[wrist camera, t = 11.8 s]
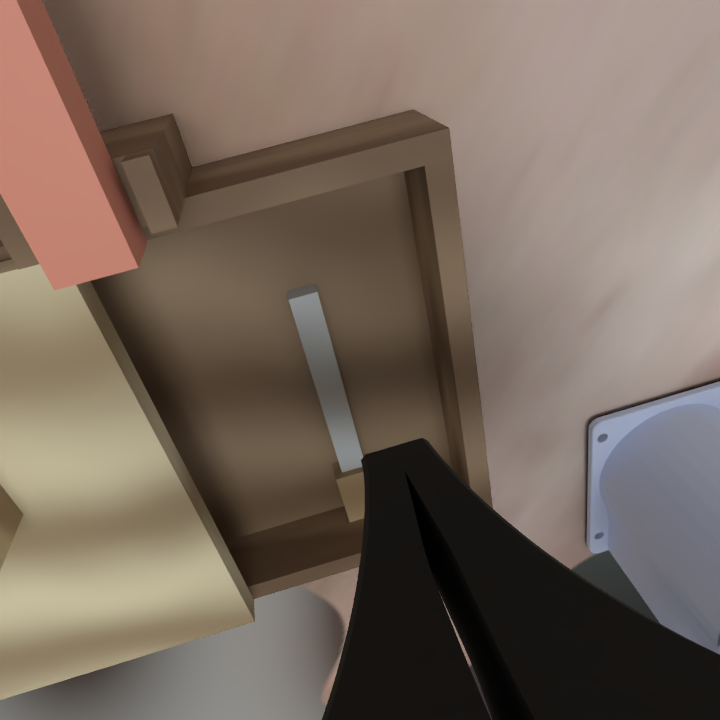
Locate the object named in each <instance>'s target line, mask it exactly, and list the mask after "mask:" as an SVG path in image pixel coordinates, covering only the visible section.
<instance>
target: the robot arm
mask: <svg viewBox="0 0 720 720" xmlns="http://www.w3.org/2000/svg"><path fill="white" fill-rule="evenodd" d="M601 434H602V435H601ZM600 435H601V436H600ZM361 463H362V467H363V474H364V486H365V512H364V528H363V542H362V551H361V558H360V566H359V573H358V581H357V587H356V592H355V598H354V603H353V608H352V613H351V618H350V622H349V627H348V631H347V636H346V640H345V643H344V647H343V651H342V655H341V659H340V663H339V667H338V670H337V674H336V677H335V681H334V684H333V688H332V691H331V694H330V697H329V700H328V703H327V706H326V709H325V712H324V716H323V718H322V720H491V719H490V716H489V714H488V712H487V709H486V707H485V704H484V702H483V700H482V697H481V695H480V692H479V690H478V687H477V685H476V683H475V680H474V678H473V675H472V673H471V670H470V668H469V665H468V663H467V661H466V658H465V656H464V653H463V651H462V648H461V646H460V643H459V641H458V638H457V636H456V633H455V631H454V628H453V626H452V623H451V621H450V618H449V616H448V613H447V611H446V608H447V610H448V612H449V614H450V617H451V619H452V621H453V623H454V625H455V628H456V630H457V632H458V634H459V636H460V639H461V641H462V643H463V645H464V647H465V650H466V652H467V654H468V656H469V659H470V661H471V663H472V666H473V668H474V671H475V673H476V676H477V678H478V681H479V683H480V686H481V689H482V692H483V695H484V697H485V700H486V703H487V706H488V709H489V712H490V714H491V717H492V720H720V381H719V382H716V383H713V384H709V385H706V386H702V387H699V388H696V389H692V390H689V391H686V392H682V393H679V394H676V395H672V396H669V397H666V398H662V399H659V400H655V401H652V402H649V403H645V404H642V405H639V406H635V407H632V408H629V409H625V410H622V411H619V412H615V413H612V414H609V415H605V416H602V417H598V418H596V419H594V420H593V421H592V422H591V424H590V425H589V440H588V497H587V548H588V549H589V551H590V552H591V553H594V554H597V553H601V552H604V551H607V550H609V551H610V553H611V554H612V556H613V557H614V558H615V560H616V561H617V563H618V564H619V565H620V567H621V568H622V570H623V571H624V572H625V574H626V575H627V576H628V578H629V580H630V581H631V582H632V584H633V585H634V587H635V588H636V589H637V591H638V592H639V594H640V595H641V597H642V598H643V599H644V601H645V602H646V604H647V605H648V606H649V608H650V609H651V611H652V612H653V614H654V615H655V616H656V618H657V619H658V621H659V622H660V623H661V624H659V623H657V622H656V621H654V620H652V619H650V618H648V617H646V616H645V615H643V614H641V613H640V612H638V611H636V610H635V609H633V608H631V607H630V606H628V605H626V604H625V603H623V602H621V601H619V600H618V599H616V598H614V597H613V596H611V595H609V594H608V593H606V592H604V591H603V590H601V589H599V588H597V587H596V586H594V585H593V584H591V583H589V582H588V581H587V580H585V579H584V578H582V577H581V576H579V575H578V574H576V573H575V572H573V571H572V570H570V569H569V568H567V567H566V566H564V565H563V564H562V563H560V562H559V561H558V560H556V559H555V558H553V557H552V556H551V555H549V554H548V553H546V552H545V551H544V550H542V549H541V548H540V547H538V546H537V545H536V544H534V543H533V542H532V541H531V540H529V539H528V538H527V537H525V536H524V535H523V534H522V533H521V532H519V531H518V530H517V529H516V528H514V527H513V526H512V525H511V524H510V523H508V522H507V521H506V520H505V519H504V518H502V517H501V516H500V515H499V514H498V513H497V512H496V511H495V510H493V509H492V508H491V507H490V506H489V505H488V504H487V503H486V502H485V501H484V500H483V499H481V498H480V497H479V496H478V495H477V494H476V493H475V492H474V491H473V490H472V489H471V488H470V487H469V486H468V485H467V484H466V483H465V482H464V481H463V480H462V479H461V478H460V477H459V476H458V475H457V474H456V473H455V472H454V471H453V470H452V469H451V468H450V467H449V465H448V464H447V463H446V462H445V461H444V460H443V459H442V458H441V456H440V455H439V454H438V453H437V452H436V450H435V449H434V448H433V447H432V445H431V444H430V443H429V441H428V440H426V439H424V438H419V439H416V440H413V441H409V442H406V443H403V444H399V445H396V446H392V447H389V448H386V449H382V450H379V451H375V452H372V453H369V454H365V455H364V457H363V458H362V459H361ZM439 592H440V593H439ZM441 597H442V598H441ZM442 599H443V600H442ZM443 601H444V603H445V606H446V608H445V606H444V603H443Z"/></svg>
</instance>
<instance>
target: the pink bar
mask: <svg viewBox="0 0 720 720" xmlns="http://www.w3.org/2000/svg"><path fill="white" fill-rule="evenodd" d="M0 194H1V196H2V198H3V199H4V201H5V203H6V205H7V207H8V208H9V210H10V212H11V214H12V216H13V217H14V219H15V221H16V223H17V224H18V226H19V228H20V230H21V232H22V233H23V235H24V237H25V239H26V241H27V242H28V244H29V246H30V248H31V250H32V251H33V253H34V255H35V257H36V259H37V260H38V262H39V264H40V266H41V268H42V269H43V271H44V273H45V275H46V277H47V278H48V280H49V282H50V284H51V285H52V287H53V289H54V291H55V290H58V289H62V288H66V287H69V286H73V285H77V284H80V283H84V282H88V281H91V280H95V279H99V278H103V277H106V276H110V275H114V274H117V273H121V272H125V271H128V270H132V269H136V268H139V265H140V262H141V259H142V257H143V254H144V251H145V248H146V245H147V243H148V242H147V240H146V238H145V235H144V233H143V231H142V229H141V226H140V224H139V222H138V219H137V217H136V215H135V212H134V210H133V208H132V206H131V203H130V201H129V199H128V196H127V194H126V192H125V189H124V187H123V185H122V183H121V180H120V178H119V176H118V173H117V171H116V169H115V167H114V164H113V162H112V160H111V157H110V155H109V153H108V150H107V148H106V146H105V144H104V141H103V139H102V137H101V134H100V132H99V130H98V127H97V125H96V123H95V121H94V118H93V116H92V114H91V111H90V109H89V107H88V104H87V102H86V100H85V98H84V95H83V93H82V91H81V88H80V86H79V84H78V82H77V79H76V77H75V75H74V72H73V70H72V68H71V65H70V63H69V61H68V59H67V56H66V54H65V52H64V49H63V47H62V45H61V42H60V40H59V38H58V36H57V33H56V31H55V29H54V26H53V24H52V22H51V19H50V17H49V15H48V13H47V10H46V8H45V6H44V3H43V1H42V0H0Z"/></svg>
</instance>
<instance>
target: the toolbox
mask: <svg viewBox="0 0 720 720" xmlns="http://www.w3.org/2000/svg"><path fill="white" fill-rule="evenodd" d="M100 134H101V137H102V139H103V141H104V144H105V146H106V148H107V150H108V153H109V155H110V157H111V160H112V162H113V164H114V167H115V169H116V171H117V173H118V176H119V178H120V180H121V183H122V185H123V187H124V189H125V192H126V194H127V196H128V199H129V201H130V203H131V206H132V208H133V210H134V212H135V215H136V217H137V219H138V222H139V224H140V226H141V229H142V231H143V233H144V235H145V238H146V240H147V242H148V243H147V245H146V248H145V251H144V254H143V257H142V259H141V262H140V265H139V268H136V269H132V270H128V271H125V272H121V273H117V274H114V275H110V276H106V277H103V278H99V279H95V280H91V283H92V285H93V287H94V289H95V291H96V293H97V295H98V297H99V299H100V301H101V303H102V305H103V307H104V309H105V311H106V313H107V314H108V316H109V318H110V320H111V322H112V324H113V326H114V328H115V330H116V332H117V334H118V336H119V338H120V340H121V342H122V344H123V346H124V348H125V349H126V351H127V353H128V355H129V357H130V359H131V361H132V363H133V365H134V367H135V369H136V371H137V373H138V375H139V377H140V379H141V381H142V383H143V385H144V386H145V388H146V390H147V392H148V394H149V396H150V398H151V400H152V402H153V404H154V406H155V408H156V410H157V412H158V414H159V416H160V418H161V420H162V422H163V423H164V425H165V427H166V429H167V431H168V433H169V435H170V437H171V439H172V441H173V443H174V445H175V447H176V449H177V451H178V453H179V455H180V457H181V458H182V460H183V462H184V464H185V466H186V468H187V470H188V472H189V474H190V476H191V478H192V480H193V482H194V484H195V486H196V488H197V490H198V492H199V494H200V495H201V497H202V499H203V501H204V503H205V505H206V507H207V509H208V511H209V513H210V515H211V517H212V519H213V521H214V523H215V525H216V527H217V529H218V531H219V532H220V534H221V536H222V538H223V540H224V542H225V544H226V546H227V548H228V550H229V552H230V554H231V556H232V558H233V560H234V562H235V564H236V566H237V567H238V569H239V571H240V573H241V575H242V577H243V579H244V581H245V583H246V585H247V587H248V589H249V591H250V593H251V595H252V597H253V599H255V598H259V597H262V596H265V595H268V594H272V593H275V592H278V591H281V590H285V589H288V588H291V587H295V586H298V585H301V584H304V583H308V582H311V581H314V580H317V579H321V578H324V577H327V576H330V575H334V574H337V573H340V572H344V571H347V570H350V569H353V568H357V567H359V566H360V558H361V551H362V542H363V528H364V512H365V486H364V474H363V467H362V463H361V459H362V458H363V457H364V455H365V454H369V453H372V452H375V451H379V450H382V449H386V448H389V447H392V446H396V445H399V444H403V443H406V442H409V441H413V440H416V439H419V438H424V439H426V440H428V441H429V443H430V444H431V445H432V447H433V448H434V449H435V450H436V452H437V453H438V454H439V455H440V456H441V458H442V459H443V460H444V461H445V462H446V463H447V464H448V465H449V467H450V468H451V469H452V470H453V471H454V472H455V473H456V474H457V475H458V476H459V477H460V478H461V479H462V480H463V481H464V482H465V483H466V484H467V485H468V486H469V487H470V488H471V489H472V490H473V491H474V492H475V493H476V494H477V495H478V496H479V497H480V498H481V499H483V500H484V501H485V502H486V503H487V504H488V505H489V506H490V507H491V508H492V509H493V506H492V498H491V489H490V480H489V472H488V463H487V454H486V445H485V437H484V428H483V419H482V410H481V402H480V393H479V384H478V376H477V367H476V358H475V349H474V341H473V332H472V323H471V315H470V306H469V297H468V288H467V280H466V271H465V262H464V254H463V245H462V236H461V227H460V219H459V210H458V201H457V192H456V184H455V175H454V166H453V158H452V149H451V140H450V131H449V128H448V127H446V126H444V125H442V124H440V123H438V122H436V121H435V120H433V119H431V118H429V117H427V116H425V115H423V114H421V113H419V112H417V111H415V110H410V111H406V112H403V113H399V114H395V115H391V116H387V117H383V118H380V119H376V120H372V121H368V122H364V123H361V124H357V125H353V126H349V127H345V128H342V129H338V130H334V131H330V132H326V133H323V134H319V135H315V136H311V137H307V138H303V139H300V140H296V141H292V142H288V143H284V144H281V145H277V146H273V147H269V148H265V149H262V150H258V151H254V152H250V153H246V154H243V155H239V156H235V157H231V158H227V159H223V160H220V161H216V162H212V163H208V164H204V165H201V166H197V167H193V168H192V166H191V163H190V160H189V158H188V155H187V152H186V149H185V147H184V144H183V141H182V138H181V136H180V133H179V130H178V127H177V125H176V122H175V119H174V116H173V114H169V115H165V116H162V117H158V118H154V119H150V120H146V121H142V122H138V123H134V124H130V125H127V126H123V127H119V128H115V129H111V130H107V131H103V132H100ZM10 259H12V260H13V262H14V263H15V265H16V267H17V269H18V270H19V269H23V268H27V267H31V266H34V265H38V264H39V262H38V260H37V259H36V257H35V255H34V253H33V251H32V250H31V248H30V246H29V244H28V242H27V241H26V239H25V237H24V235H23V233H22V232H21V230H20V228H19V226H18V224H17V223H16V221H15V219H14V217H13V216H12V214H11V212H10V210H9V208H8V207H7V205H6V203H5V201H4V199H3V198H2V196H1V194H0V262H3V261H7V260H10Z"/></svg>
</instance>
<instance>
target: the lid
mask: <svg viewBox="0 0 720 720" xmlns="http://www.w3.org/2000/svg"><path fill="white" fill-rule="evenodd" d="M254 621H255V616H254V599H253V597H252V595H251V593H250V591H249V589H248V587H247V585H246V583H245V581H244V579H243V577H242V575H241V573H240V571H239V569H238V567H237V566H236V564H235V562H234V560H233V558H232V556H231V554H230V552H229V550H228V548H227V546H226V544H225V542H224V540H223V538H222V536H221V534H220V532H219V531H218V529H217V527H216V525H215V523H214V521H213V519H212V517H211V515H210V513H209V511H208V509H207V507H206V505H205V503H204V501H203V499H202V497H201V495H200V494H199V492H198V490H197V488H196V486H195V484H194V482H193V480H192V478H191V476H190V474H189V472H188V470H187V468H186V466H185V464H184V462H183V460H182V458H181V457H180V455H179V453H178V451H177V449H176V447H175V445H174V443H173V441H172V439H171V437H170V435H169V433H168V431H167V429H166V427H165V425H164V423H163V422H162V420H161V418H160V416H159V414H158V412H157V410H156V408H155V406H154V404H153V402H152V400H151V398H150V396H149V394H148V392H147V390H146V388H145V386H144V385H143V383H142V381H141V379H140V377H139V375H138V373H137V371H136V369H135V367H134V365H133V363H132V361H131V359H130V357H129V355H128V353H127V351H126V349H125V348H124V346H123V344H122V342H121V340H120V338H119V336H118V334H117V332H116V330H115V328H114V326H113V324H112V322H111V320H110V318H109V316H108V314H107V313H106V311H105V309H104V307H103V305H102V303H101V301H100V299H99V297H98V295H97V293H96V291H95V289H94V287H93V285H92V283H91V281H88V282H84V283H80V284H77V285H73V286H69V287H66V288H62V289H58V290H55V291H54V289H53V287H52V285H51V284H50V282H49V280H48V278H47V277H46V275H45V273H44V271H43V269H42V268H41V266H40V264H38V265H34V266H31V267H27V268H23V269H19V270H18V269H17V267H16V265H15V263H14V262H13V260H12V259H10V260H7V261H3V262H0V700H1V699H5V698H8V697H11V696H14V695H18V694H21V693H24V692H27V691H31V690H34V689H37V688H40V687H44V686H47V685H50V684H53V683H57V682H60V681H63V680H66V679H70V678H73V677H76V676H79V675H83V674H86V673H89V672H92V671H96V670H99V669H102V668H105V667H108V666H112V665H115V664H118V663H122V662H125V661H128V660H131V659H135V658H138V657H141V656H144V655H148V654H151V653H154V652H157V651H161V650H164V649H167V648H170V647H174V646H177V645H180V644H183V643H186V642H190V641H193V640H196V639H199V638H203V637H206V636H209V635H212V634H216V633H219V632H222V631H225V630H229V629H232V628H235V627H239V626H242V625H245V624H248V623H251V622H254Z"/></svg>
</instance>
